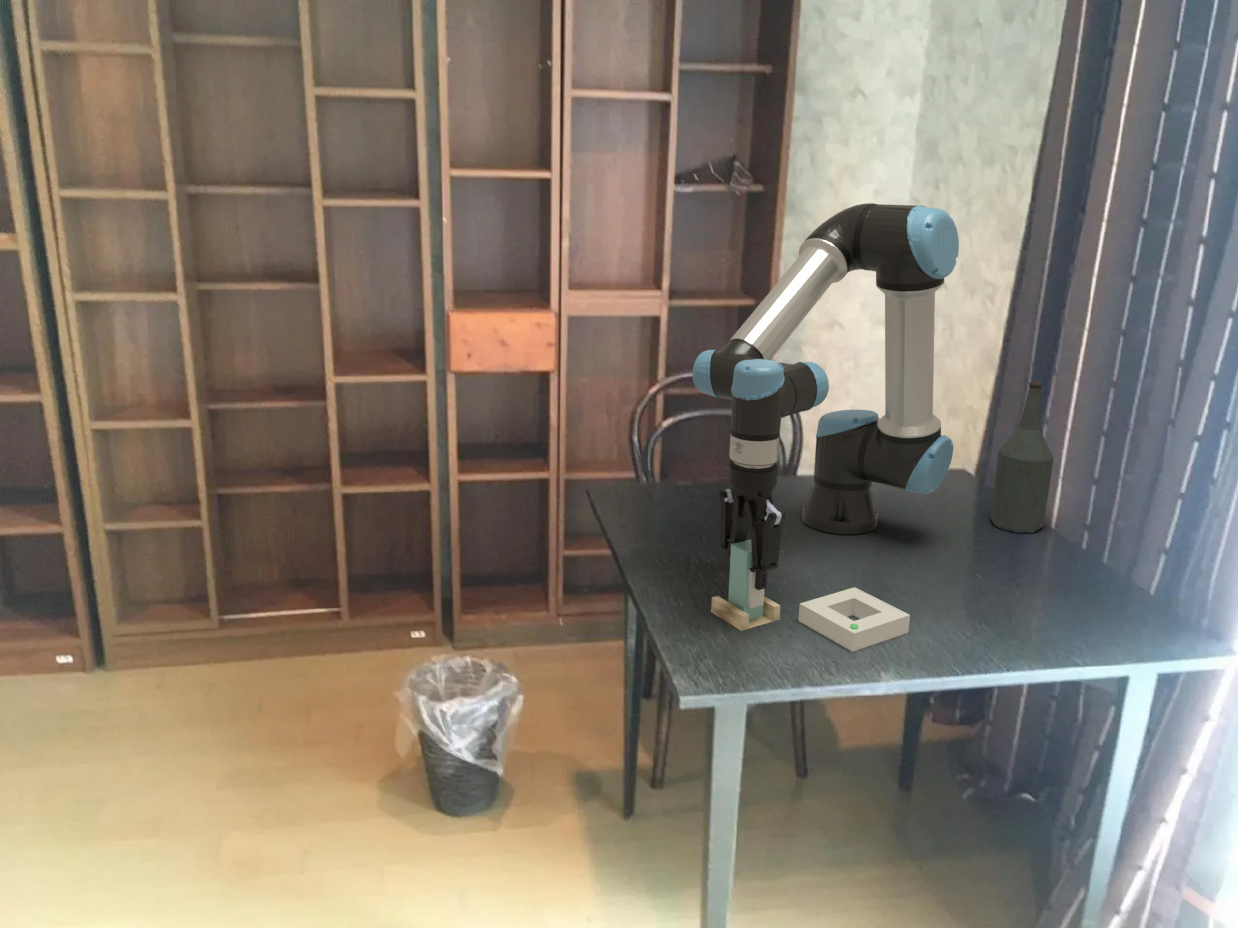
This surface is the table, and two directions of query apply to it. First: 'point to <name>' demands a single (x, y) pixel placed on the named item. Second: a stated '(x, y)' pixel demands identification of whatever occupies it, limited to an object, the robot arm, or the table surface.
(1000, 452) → the bottle
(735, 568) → the plug
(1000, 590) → the table surface
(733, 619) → the wooden cradle
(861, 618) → the frame
